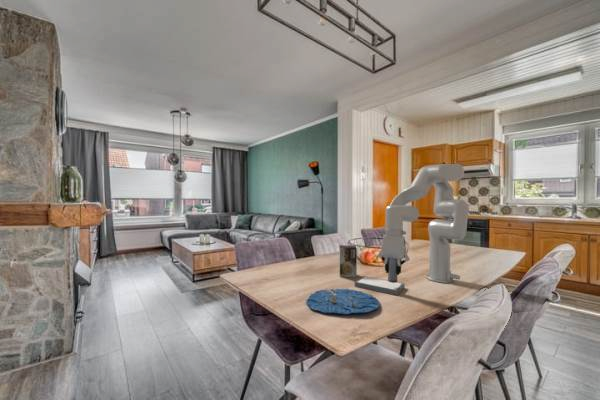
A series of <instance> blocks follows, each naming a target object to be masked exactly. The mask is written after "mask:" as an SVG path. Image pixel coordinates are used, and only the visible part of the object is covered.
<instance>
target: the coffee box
mask: <svg viewBox="0 0 600 400" xmlns="http://www.w3.org/2000/svg"><path fill="white" fill-rule="evenodd" d="M357 249H358V248H357V246H356V245H345V244H344V245H343V244H342V245H341V244H340V245H339V249H338V250H339V251H338V252H339V253H338V258H339V259H338V260H339V261H338V264H339V267H338V268H339V269H338V271H339V274H338V275H339V277H340V278H357V265H358V264H357V262H358V261H357V256H358V255H357V252H358V251H357Z"/></svg>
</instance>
